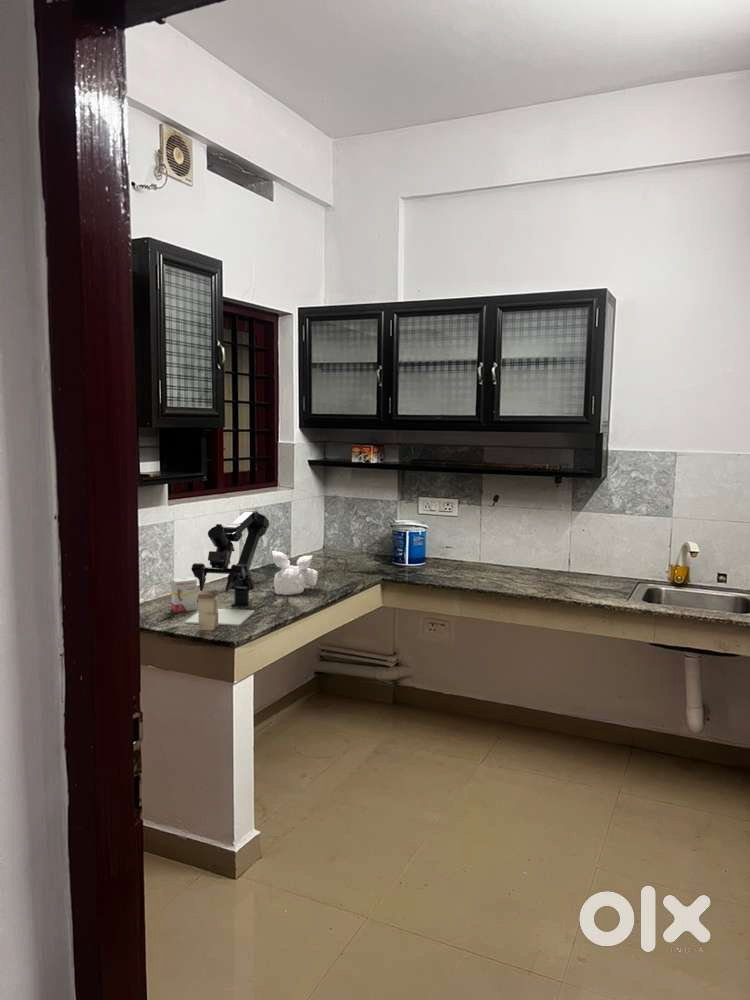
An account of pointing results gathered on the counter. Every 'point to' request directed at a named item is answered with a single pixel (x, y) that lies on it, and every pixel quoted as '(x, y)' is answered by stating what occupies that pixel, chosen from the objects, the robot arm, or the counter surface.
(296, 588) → the white tied bag bundle
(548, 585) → the counter surface
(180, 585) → the ink box
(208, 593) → the birch block
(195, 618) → the sage mat
